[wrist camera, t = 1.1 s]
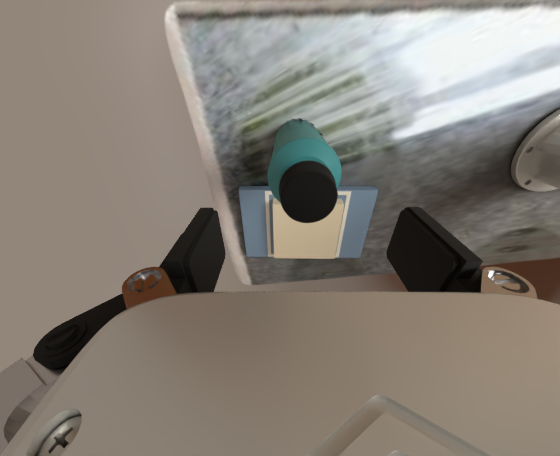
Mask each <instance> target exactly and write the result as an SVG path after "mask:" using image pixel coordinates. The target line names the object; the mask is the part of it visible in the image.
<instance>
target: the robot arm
mask: <svg viewBox="0 0 560 456" xmlns="http://www.w3.org/2000/svg"><path fill="white" fill-rule="evenodd" d="M511 175H512V178H513V180H514V181H515V183H516V184H517V185H519V186H520V187H522V188H525V189H527V190H531V191H550V190H554V189H558V188H559V189H560V109H559V110H557V111H556V112H554V113H553V114H551V115H549V116H548V117H547V118H546V119H544V120H543V121H542V122H540V123H539V124H538V125H537V126H536V127H535V128H534V129H533V130H532V131H531V132H530V133H529V134H528V135H527V136H526V138H525V139H524V140H523V141H522V143H521V144H520V146H519V147H518V149H517V151H516V153H515V155H514V157H513V160H512V165H511ZM387 258H388V260H389V261H390V263H391V265H392V266H393V268H394V269H395V271H396V273H397V274H398V276H399V277H400V279H401V281H402V282H403V284H404V285H405V287H406V289H407V290H408V292H365V291H363V292H362V291H359V292H357V291H356V292H351V291H346V292H345V291H344V292H343V291H339V292H338V291H334V292H333V291H313V292H312V291H307V292H306V291H304V292H303V291H300V292H297V291H296V292H294V291H289V292H288V291H287V292H286V291H285V292H214V289H215V286H216V283H217V280H218V277H219V274H220V271H221V268H222V265H223V262H224V259H225V248H224V243H223V238H222V233H221V227H220V222H219V217H218V212H217V211H214V210H213V208H200V209H199V211H198V212H197V214H196V215H195V217H194V218H193V220H192V221H191V223H190V224H189V225H188V227H187V228H186V230H185V232H184V233H183V234H182V235H181V236H180V237H179V239H178V240H177V242H176V243H175V245H174V246H173V248H172V249H171V250H170V252H169V253H168V255H167V256H166V258H165V259H164V260H163V262H162V264H161V265H160V267H149V268H145V269H142V270H140V271H137V272H135V273H134V274H132V275H131V276H130V277H128V279H127V280H125V282H124V283H123V285H122V294H120V295H118V296H116V297H114V298H113V299H110V300H108V301H106V302H104V303H102V304H100V305H98V306H96V307H94V308H92V309H90V310H88V311H86V312H84V313H82V314H80V315H78V316H76V317H74V318H72V319H70V320H69V321H66V322H64V323H62V324H61V325H59V326H57V327H55V328H54V329H53V330H51V331H50V332H49V333H47V334H46V335H45V336H44V337H43V338H42V339H41V340H40V341H39V343H38V344H37V346H36V347H35V349H34V353H33V356H31V357H30V358H28V359H27V360H24V359H23V358H21V359H20V360H18V361H17V362H15V363H14V364H12V365H11V366H9V367H8V368H6V369H5V370H4V371H2V372H1V373H0V456H560V305H558V304H555V303H551V302H547V301H543V300H540V299H538V298H537V295H536V291H535V289H534V287H533V286H532V285H531V284H530V282H528V281H527V280H526V279H524V278H523V277H521V276H519V275H517V274H516V273H513V272H511V271H508V270H505V269H502V268H497V267H487V268H484V269H483V270H481V269H480V268H479V266H480V265H481V263H482V262H483V261H482V260H481V259H480V258H479V257H477V256H476V255H475V254H474V253H473V252H472V251H470V250H469V249H468V248H467V247H466V246H465V245H463V244H462V243H461V242H460V241H459V240H458V239H456V238H455V237H454V236H453V235H452V234H451V233H449V232H448V231H447V230H446V229H445V228H444V227H442V226H441V225H440V224H439V223H438V222H436V221H435V220H434V219H433V218H432V217H431V216H429V215H428V214H427V213H426V212H425V211H424V210H422V209H421V208H420V207H407V208H405V209H404V210H402V211H401V213H400V215H399V218H398V221H397V224H396V227H395V229H394V232H393V235H392V238H391V241H390V244H389V246H388V249H387Z"/></svg>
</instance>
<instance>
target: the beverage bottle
mask: <svg viewBox="0 0 560 456" xmlns="http://www.w3.org/2000/svg"><path fill="white" fill-rule="evenodd" d="M307 121H308V120H307ZM307 121H305V120H302V119H300V118H298V119H294V118H293V120H290V121H288V122H286V123H285V124H284V125H282V126H281V127H280V129H279V130H277V131H278V132H277V134H276V137H275V142H274V147H273V150H272V151H273V154H272V155H271V156H272V158H271V161H270V164H269V167H268V175H267V178H268V184H269V188H270V190H271V192H272V194H273V195H274V197H275V198H276V199H277V200H278V201H279V202H280V203H281V206H282V208H283V210H284V211H285V213H286V214H287V215H288V216H289V217H290V218H292V219H293V220H295V221H298V222H301V223H314V222H317V221H320V220H322V219H324V218H325V217H327V216H328V215H329V214H330V213H331V212H332V211H333V209H334V207H335V205H336V202H337V198H338V191H337V188H338V186H339V183H340V180H341V164H340V161H339V158H338V156H337V154H336V153H335V151H334V150H333V149H332V148H331V147H330V146H329V145H328V144H329V143H328V144H327V143H326V141H325V140H324V138H323V137H322V136H321V135H322V134H320V133H319V132H320V131H319V132H318V131H317V130H316V129H315V128H314V125H313V124H312V123H311V122H310V123H311V124H310V123H309V122H307Z"/></svg>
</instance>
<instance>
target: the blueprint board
mask: <svg viewBox="0 0 560 456" xmlns="http://www.w3.org/2000/svg"><path fill="white" fill-rule="evenodd" d="M337 191H338V198H337V202H336V205H335V207H334V209H333V211H332V212H331V213H330V214H329V215H328V216H327V217H325V218H324V219H322V220H320V221H317V222H314V223H301V222H298V221H295V220H293V219H292V218H290V217H289V216H288V215H287V214H286V213H285V211H284V210H283V208H282V206H281V203H280V202H279V201H278V200H277V199H276V198H275V197H274V195H273V194H272V192H271V190H270V188H269V186H240V187H239V198H240V206H241V215H242V223H243V231H244V239H245V247H246V255H247V257H274V258H312V259H335V258H360V257H361V253H362V250H363V246H364V242H365V238H366V235H367V231H368V227H369V224H370V220H371V216H372V213H373V209H374V205H375V201H376V198H377V194H378V189H377V188H376V187H369V186H338V188H337Z"/></svg>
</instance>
